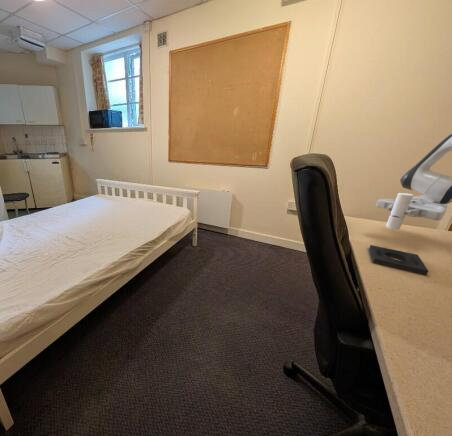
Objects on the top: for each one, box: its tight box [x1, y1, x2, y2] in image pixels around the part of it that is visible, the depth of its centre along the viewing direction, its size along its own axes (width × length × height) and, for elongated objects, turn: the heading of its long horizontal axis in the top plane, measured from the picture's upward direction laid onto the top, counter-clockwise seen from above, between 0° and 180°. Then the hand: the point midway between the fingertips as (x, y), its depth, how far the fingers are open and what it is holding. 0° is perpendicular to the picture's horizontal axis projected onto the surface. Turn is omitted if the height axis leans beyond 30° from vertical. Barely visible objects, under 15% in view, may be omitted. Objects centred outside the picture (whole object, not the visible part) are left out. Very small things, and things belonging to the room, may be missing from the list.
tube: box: [385, 192, 414, 231], centre depth 92 cm, size 4×4×15 cm
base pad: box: [368, 244, 429, 276], centre depth 86 cm, size 14×14×2 cm
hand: (398, 210), depth 92 cm, fingers closed on tube, 4 cm apart
